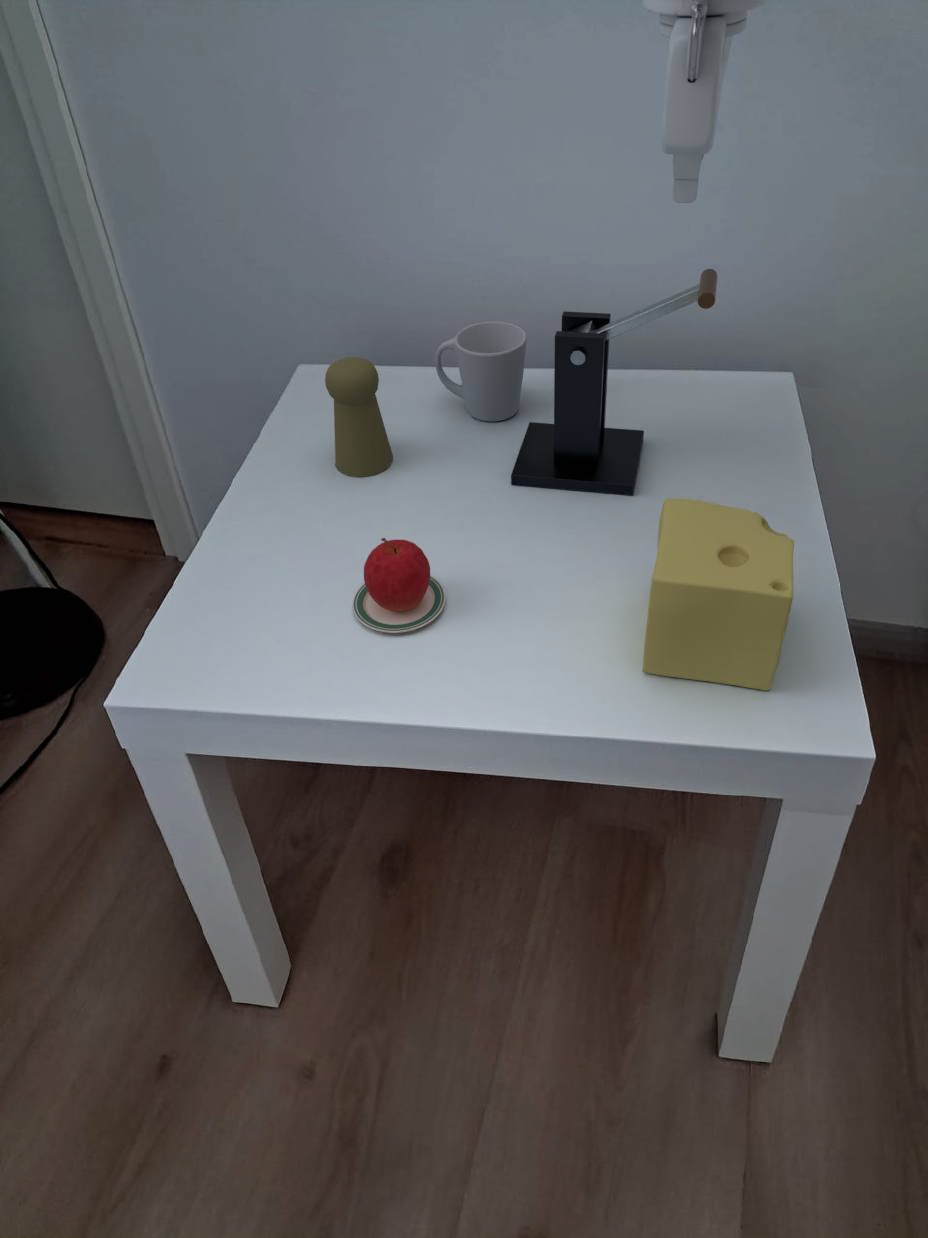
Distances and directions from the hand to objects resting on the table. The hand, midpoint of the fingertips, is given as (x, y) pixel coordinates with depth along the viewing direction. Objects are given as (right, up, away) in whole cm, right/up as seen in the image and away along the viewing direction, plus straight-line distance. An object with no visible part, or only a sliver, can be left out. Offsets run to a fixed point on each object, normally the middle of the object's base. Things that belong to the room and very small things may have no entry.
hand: (688, 179), depth 76 cm
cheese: (+1, -38, -1) cm, 38 cm away
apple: (-24, -35, +4) cm, 42 cm away
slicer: (-7, -20, +19) cm, 28 cm away
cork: (-29, -19, +21) cm, 41 cm away
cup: (-16, -13, +28) cm, 35 cm away
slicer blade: (-2, -10, +8) cm, 13 cm away
